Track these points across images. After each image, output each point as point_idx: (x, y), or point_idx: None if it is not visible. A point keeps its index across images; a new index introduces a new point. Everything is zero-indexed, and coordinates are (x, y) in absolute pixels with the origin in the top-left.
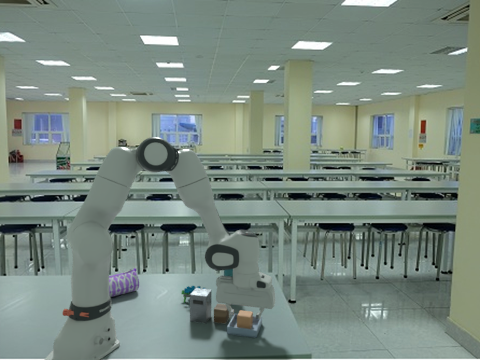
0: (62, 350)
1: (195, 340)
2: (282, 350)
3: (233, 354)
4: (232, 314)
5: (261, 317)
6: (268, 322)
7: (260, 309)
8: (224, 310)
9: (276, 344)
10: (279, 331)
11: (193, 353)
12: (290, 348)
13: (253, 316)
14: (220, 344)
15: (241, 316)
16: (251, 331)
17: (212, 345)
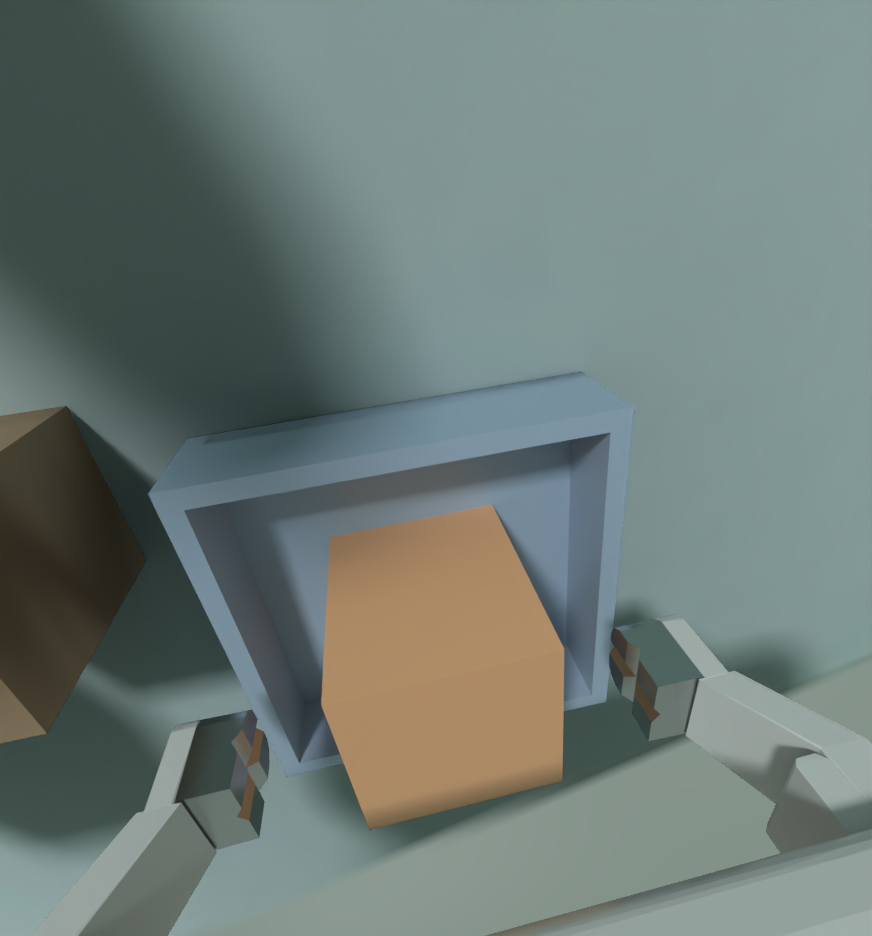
0: None
1: None
2: (771, 672)
3: (464, 823)
4: (258, 786)
5: (626, 430)
6: (662, 294)
7: (795, 847)
8: (14, 736)
9: (735, 636)
10: (782, 449)
11: (224, 912)
12: (831, 633)
13: (498, 451)
14: (328, 801)
15: (434, 809)
16: None
17: (281, 829)
